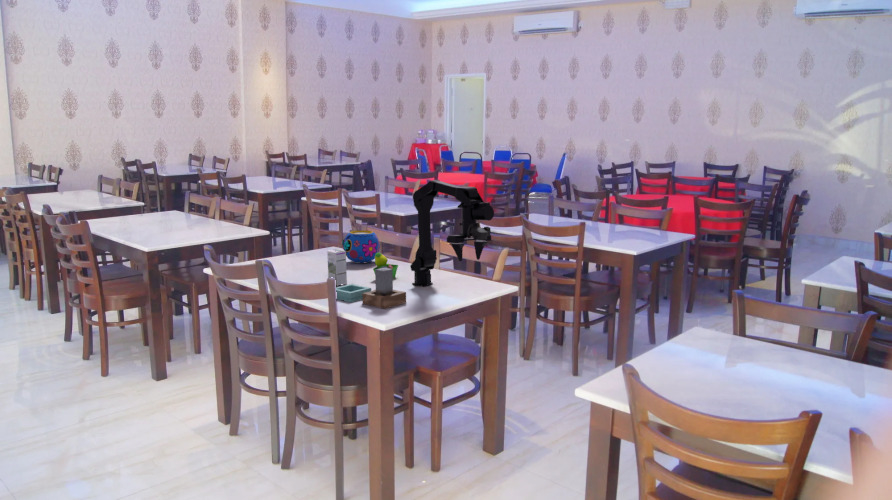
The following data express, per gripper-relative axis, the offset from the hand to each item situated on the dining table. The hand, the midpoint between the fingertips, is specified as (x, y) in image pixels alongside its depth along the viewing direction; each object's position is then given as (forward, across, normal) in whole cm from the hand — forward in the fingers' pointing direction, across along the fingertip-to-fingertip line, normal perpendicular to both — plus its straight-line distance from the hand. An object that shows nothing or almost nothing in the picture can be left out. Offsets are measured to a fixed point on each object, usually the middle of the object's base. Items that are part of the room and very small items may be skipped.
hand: (469, 260), depth 265 cm
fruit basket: (+11, -5, +49) cm, 51 cm away
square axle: (+15, -30, +15) cm, 37 cm away
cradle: (+14, -34, +31) cm, 48 cm away
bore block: (+15, -30, +15) cm, 37 cm away
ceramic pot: (+8, +7, +85) cm, 85 cm away
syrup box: (+12, -27, +53) cm, 60 cm away
